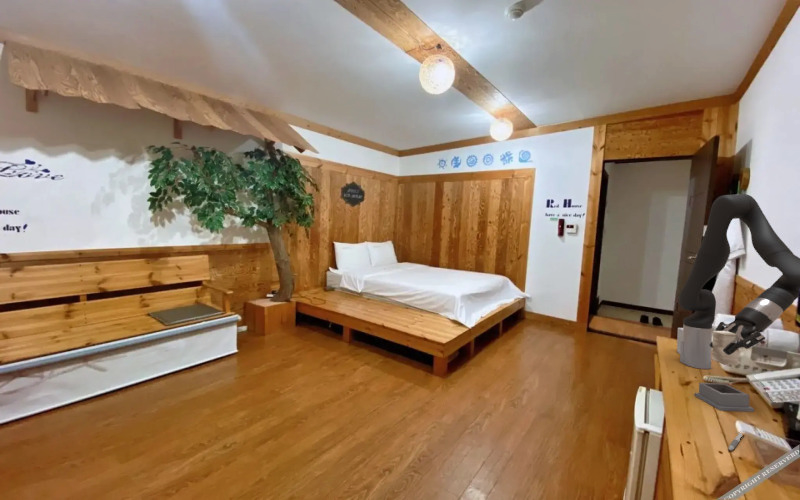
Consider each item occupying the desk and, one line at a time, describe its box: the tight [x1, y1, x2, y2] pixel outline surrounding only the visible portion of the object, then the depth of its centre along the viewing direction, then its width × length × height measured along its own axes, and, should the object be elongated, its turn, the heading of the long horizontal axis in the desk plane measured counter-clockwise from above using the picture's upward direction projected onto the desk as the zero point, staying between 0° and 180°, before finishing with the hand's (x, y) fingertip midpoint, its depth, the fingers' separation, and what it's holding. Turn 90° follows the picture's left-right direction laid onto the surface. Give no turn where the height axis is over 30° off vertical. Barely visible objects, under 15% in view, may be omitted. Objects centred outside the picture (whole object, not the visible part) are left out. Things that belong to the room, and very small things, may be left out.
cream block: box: [711, 330, 740, 366], centre depth 108 cm, size 4×4×10 cm
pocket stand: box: [694, 382, 755, 413], centre depth 109 cm, size 10×10×5 cm
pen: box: [728, 432, 743, 451], centre depth 88 cm, size 1×14×1 cm, turn 123°
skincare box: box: [676, 327, 683, 355], centre depth 155 cm, size 6×4×12 cm
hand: (719, 350), depth 108 cm, fingers closed on cream block, 4 cm apart
